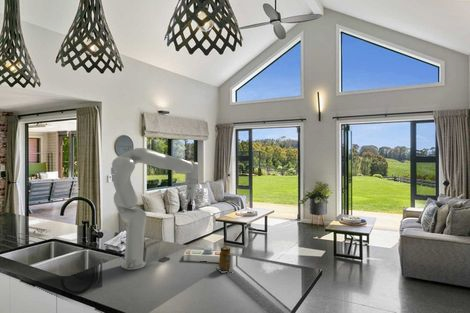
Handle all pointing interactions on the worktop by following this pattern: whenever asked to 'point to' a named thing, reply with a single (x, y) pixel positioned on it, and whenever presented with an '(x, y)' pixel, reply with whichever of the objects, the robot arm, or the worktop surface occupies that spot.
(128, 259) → the robot arm
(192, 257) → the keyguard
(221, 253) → the condiment
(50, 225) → the worktop surface
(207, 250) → the key slate
